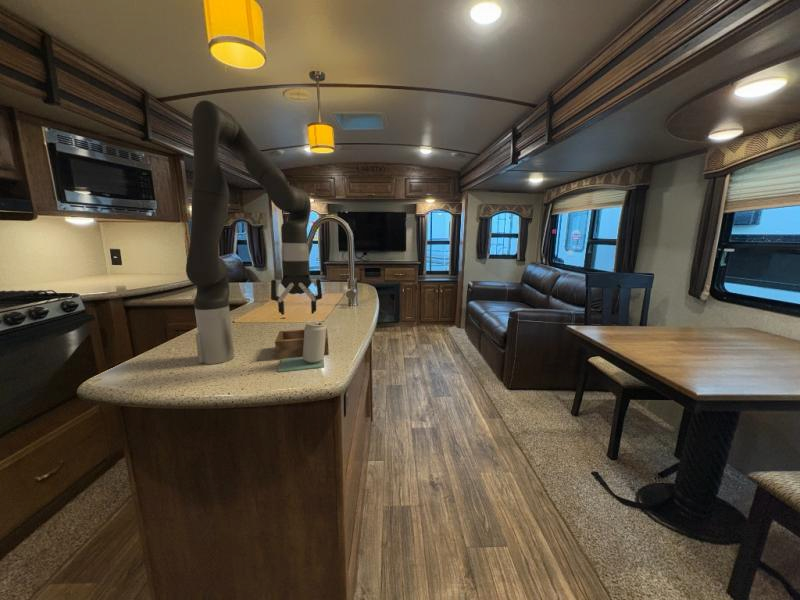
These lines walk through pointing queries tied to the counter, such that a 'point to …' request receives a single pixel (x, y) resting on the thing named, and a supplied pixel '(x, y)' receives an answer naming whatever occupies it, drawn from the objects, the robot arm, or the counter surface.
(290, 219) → the robot arm
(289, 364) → the rubber mat
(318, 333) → the beverage can
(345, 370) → the counter surface
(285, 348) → the walnut holder
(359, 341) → the counter surface
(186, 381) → the counter surface
